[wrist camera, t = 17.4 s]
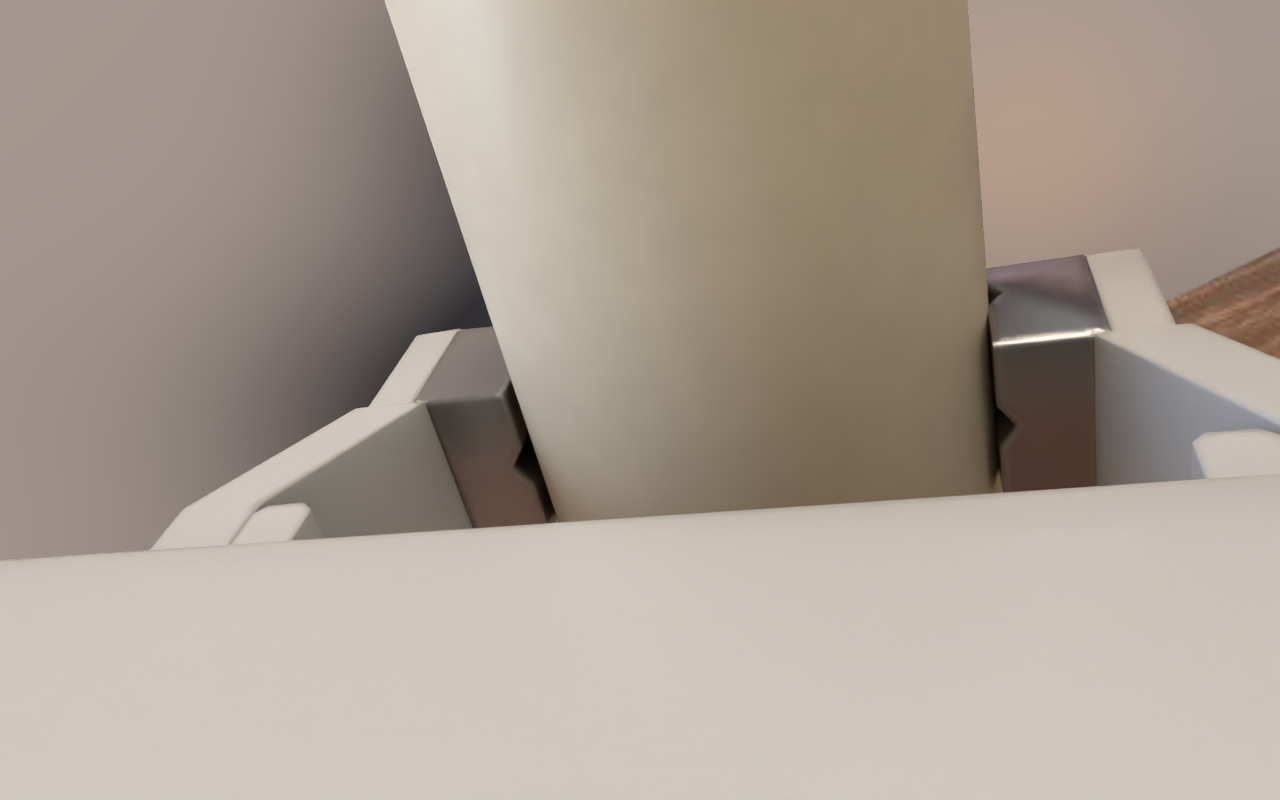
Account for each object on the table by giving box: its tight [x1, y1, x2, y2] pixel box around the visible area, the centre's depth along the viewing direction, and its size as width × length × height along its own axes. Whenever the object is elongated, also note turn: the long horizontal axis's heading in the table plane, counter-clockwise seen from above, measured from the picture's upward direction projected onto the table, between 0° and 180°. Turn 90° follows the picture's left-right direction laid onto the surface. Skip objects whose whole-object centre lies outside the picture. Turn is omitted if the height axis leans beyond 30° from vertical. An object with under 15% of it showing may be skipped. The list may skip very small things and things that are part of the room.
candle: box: [385, 0, 1002, 523], centre depth 12 cm, size 5×5×15 cm
